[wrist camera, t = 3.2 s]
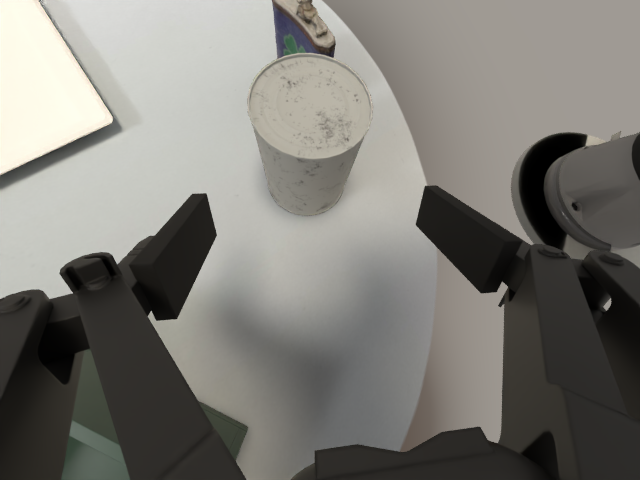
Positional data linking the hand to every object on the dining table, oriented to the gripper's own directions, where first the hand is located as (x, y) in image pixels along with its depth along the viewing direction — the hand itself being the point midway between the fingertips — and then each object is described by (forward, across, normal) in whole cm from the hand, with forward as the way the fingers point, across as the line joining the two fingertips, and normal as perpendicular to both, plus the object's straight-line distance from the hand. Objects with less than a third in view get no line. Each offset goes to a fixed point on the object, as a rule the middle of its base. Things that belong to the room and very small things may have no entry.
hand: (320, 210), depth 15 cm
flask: (+26, +1, +6) cm, 27 cm away
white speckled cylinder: (+16, 0, -3) cm, 17 cm away
